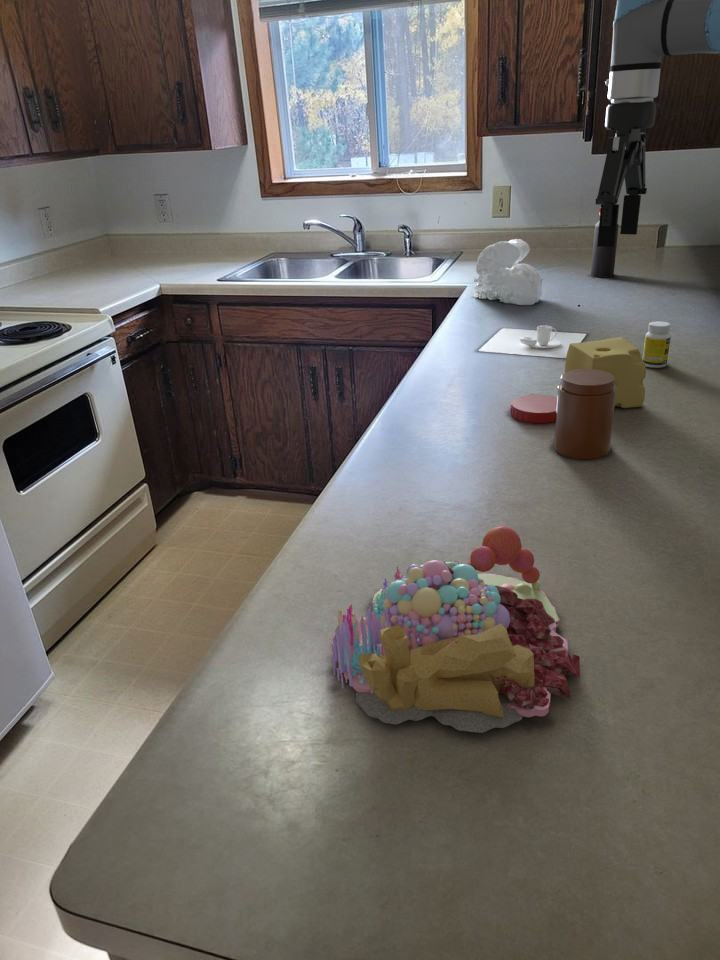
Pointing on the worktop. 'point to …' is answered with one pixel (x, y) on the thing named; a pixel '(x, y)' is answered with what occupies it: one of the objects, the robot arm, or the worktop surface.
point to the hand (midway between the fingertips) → (617, 240)
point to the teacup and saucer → (532, 342)
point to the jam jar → (584, 413)
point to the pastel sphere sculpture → (458, 643)
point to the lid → (534, 408)
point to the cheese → (612, 366)
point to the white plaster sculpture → (507, 274)
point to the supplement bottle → (657, 344)
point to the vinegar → (603, 256)
